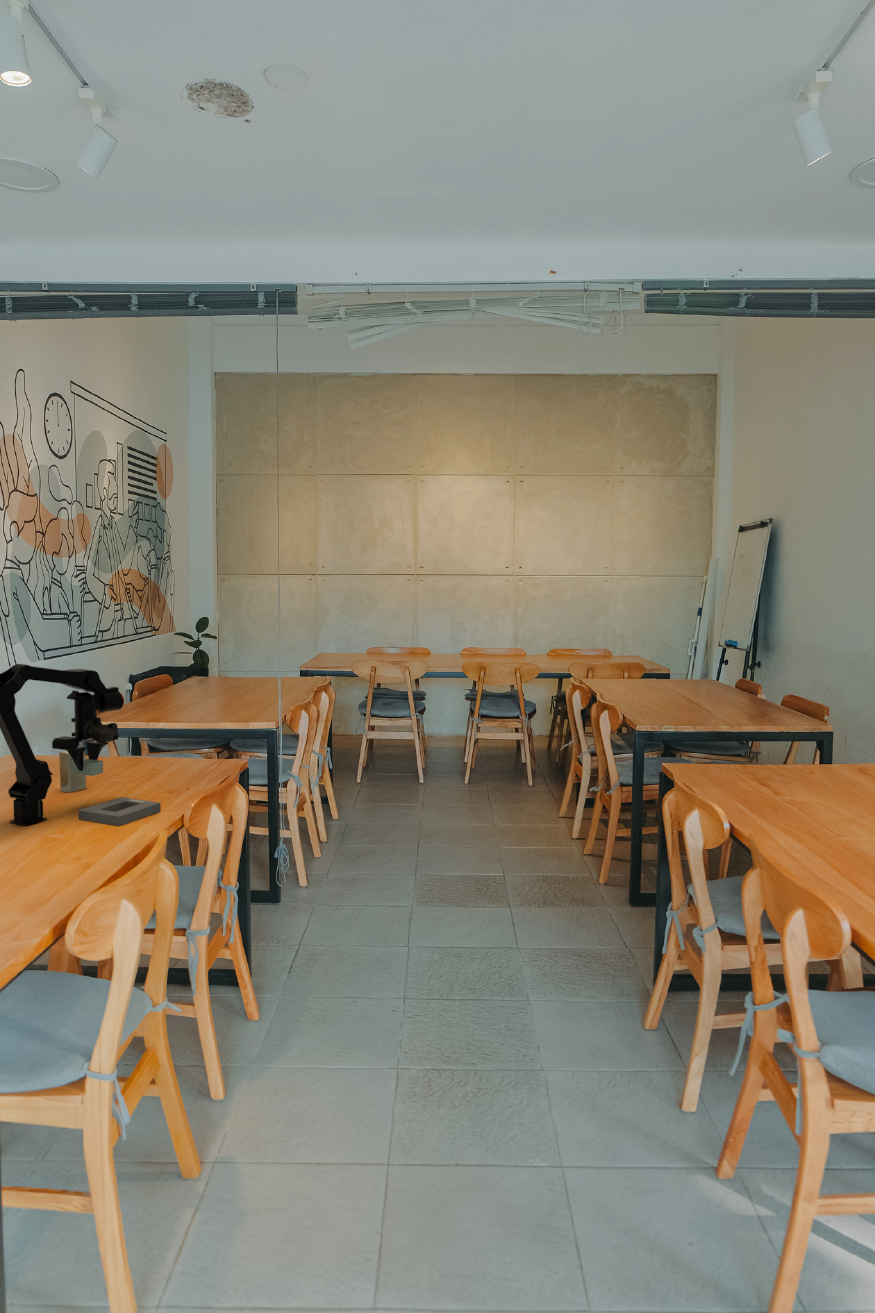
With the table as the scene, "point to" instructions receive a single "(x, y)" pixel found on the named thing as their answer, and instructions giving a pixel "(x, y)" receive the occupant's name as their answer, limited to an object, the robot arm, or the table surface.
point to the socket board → (119, 811)
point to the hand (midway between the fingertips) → (86, 769)
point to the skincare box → (70, 775)
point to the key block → (88, 767)
